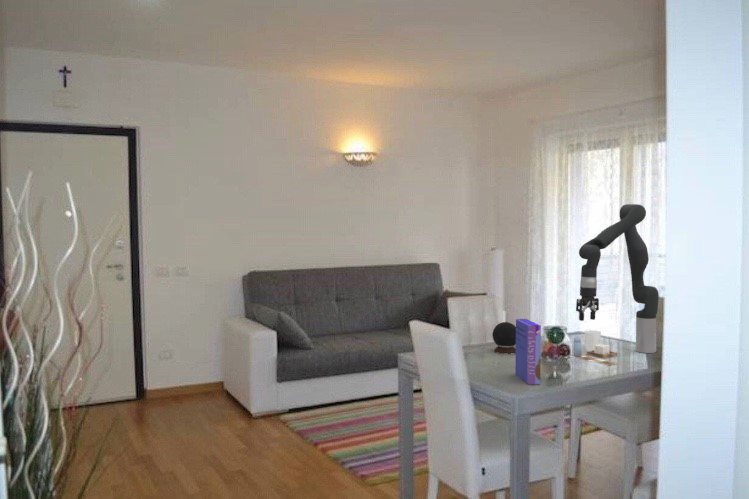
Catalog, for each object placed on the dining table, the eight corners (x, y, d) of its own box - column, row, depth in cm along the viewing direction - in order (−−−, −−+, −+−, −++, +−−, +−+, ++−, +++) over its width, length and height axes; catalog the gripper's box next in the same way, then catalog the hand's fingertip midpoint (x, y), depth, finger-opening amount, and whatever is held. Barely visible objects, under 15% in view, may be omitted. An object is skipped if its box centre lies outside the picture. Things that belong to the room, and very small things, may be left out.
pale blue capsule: (577, 355, 303) (576, 336, 303) (583, 356, 300) (582, 337, 300) (572, 356, 302) (571, 336, 301) (578, 357, 298) (577, 337, 298)
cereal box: (540, 384, 251) (540, 325, 250) (528, 385, 250) (529, 325, 249) (526, 374, 268) (526, 318, 267) (515, 374, 268) (515, 318, 267)
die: (600, 354, 307) (600, 343, 306) (609, 355, 302) (609, 345, 302) (593, 355, 304) (594, 345, 304) (603, 357, 300) (603, 346, 299)
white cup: (583, 352, 314) (583, 332, 314) (584, 349, 322) (584, 329, 321) (600, 353, 311) (600, 333, 311) (600, 350, 319) (601, 330, 318)
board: (577, 355, 305) (577, 354, 305) (617, 364, 287) (617, 362, 287) (568, 357, 301) (568, 356, 301) (607, 366, 283) (607, 364, 283)
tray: (599, 353, 310) (599, 349, 310) (617, 357, 302) (617, 352, 302) (586, 356, 304) (586, 351, 304) (604, 359, 296) (604, 355, 296)
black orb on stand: (524, 352, 314) (524, 322, 313) (506, 355, 306) (506, 325, 306) (505, 348, 325) (505, 319, 324) (486, 351, 317) (487, 321, 317)
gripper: (590, 285, 307) (589, 318, 308) (572, 286, 299) (571, 319, 299) (604, 286, 301) (602, 320, 301) (585, 287, 293) (584, 321, 293)
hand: (587, 320), depth 300 cm, fingers open, 8 cm apart
